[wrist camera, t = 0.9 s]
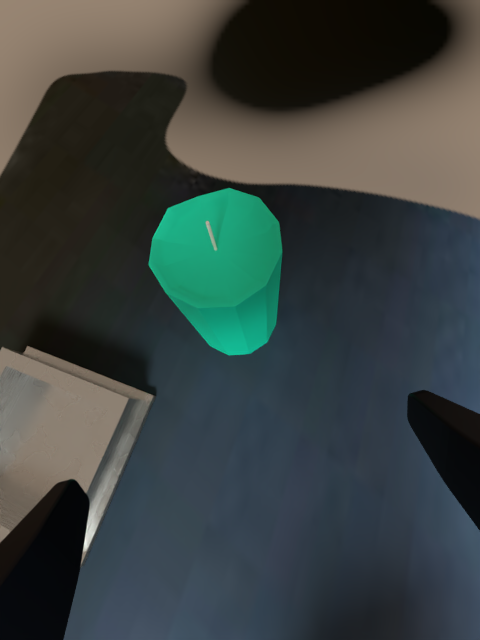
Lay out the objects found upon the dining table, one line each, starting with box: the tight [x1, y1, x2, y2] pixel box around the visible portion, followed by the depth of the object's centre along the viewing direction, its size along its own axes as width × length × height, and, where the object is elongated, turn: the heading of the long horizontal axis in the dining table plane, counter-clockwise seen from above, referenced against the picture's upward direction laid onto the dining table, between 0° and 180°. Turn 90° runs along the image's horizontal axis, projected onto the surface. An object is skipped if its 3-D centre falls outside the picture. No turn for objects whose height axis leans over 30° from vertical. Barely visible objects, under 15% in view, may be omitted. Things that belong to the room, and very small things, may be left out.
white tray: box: [0, 346, 156, 568], centre depth 19 cm, size 11×17×4 cm, turn 160°
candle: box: [149, 188, 282, 355], centre depth 18 cm, size 6×6×12 cm
